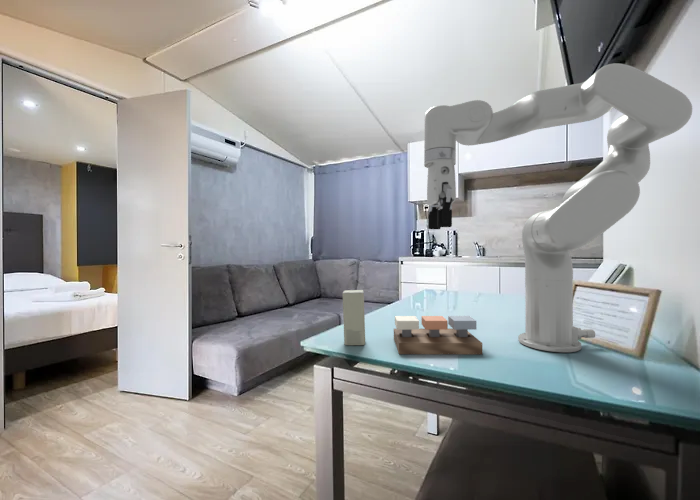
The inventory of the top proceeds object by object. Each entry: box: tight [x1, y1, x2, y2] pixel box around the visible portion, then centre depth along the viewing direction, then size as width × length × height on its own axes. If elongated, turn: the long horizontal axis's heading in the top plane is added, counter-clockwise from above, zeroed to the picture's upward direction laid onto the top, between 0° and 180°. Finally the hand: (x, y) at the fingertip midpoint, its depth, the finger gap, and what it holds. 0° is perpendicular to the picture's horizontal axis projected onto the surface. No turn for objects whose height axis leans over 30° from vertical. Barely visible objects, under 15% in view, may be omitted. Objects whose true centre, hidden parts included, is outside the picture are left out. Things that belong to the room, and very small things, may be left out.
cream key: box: [394, 315, 420, 337], centre depth 75 cm, size 5×5×4 cm
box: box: [342, 289, 366, 346], centre depth 77 cm, size 5×4×13 cm
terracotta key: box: [420, 315, 449, 337], centre depth 75 cm, size 5×5×4 cm
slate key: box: [447, 315, 477, 337], centre depth 74 cm, size 5×5×4 cm
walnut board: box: [393, 328, 483, 355], centre depth 75 cm, size 18×12×2 cm, turn 88°
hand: (439, 228), depth 79 cm, fingers open, 9 cm apart
